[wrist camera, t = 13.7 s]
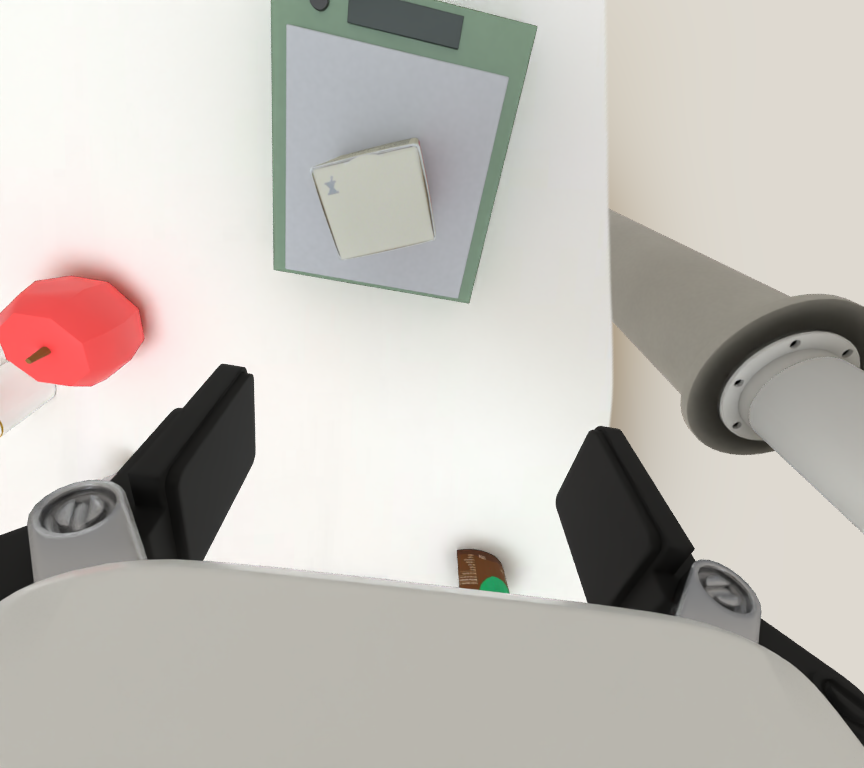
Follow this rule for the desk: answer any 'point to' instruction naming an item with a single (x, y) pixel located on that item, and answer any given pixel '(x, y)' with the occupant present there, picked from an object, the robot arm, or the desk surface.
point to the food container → (480, 571)
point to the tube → (20, 396)
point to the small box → (376, 199)
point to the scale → (393, 126)
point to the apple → (70, 331)
